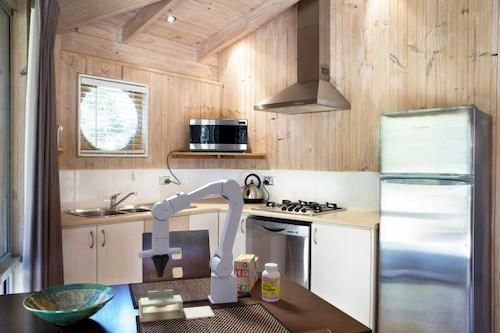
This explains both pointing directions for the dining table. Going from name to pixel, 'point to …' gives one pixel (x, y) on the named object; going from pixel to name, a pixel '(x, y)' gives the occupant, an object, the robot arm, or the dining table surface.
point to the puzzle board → (160, 312)
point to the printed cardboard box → (246, 271)
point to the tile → (198, 312)
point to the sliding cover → (161, 299)
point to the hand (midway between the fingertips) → (159, 276)
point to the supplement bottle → (270, 283)
